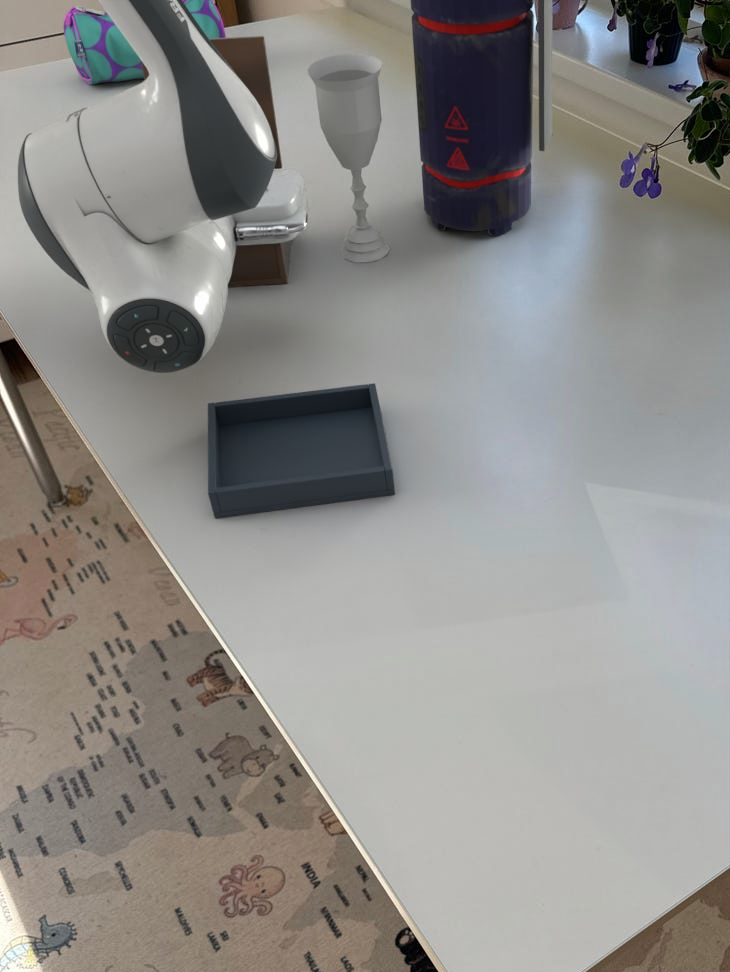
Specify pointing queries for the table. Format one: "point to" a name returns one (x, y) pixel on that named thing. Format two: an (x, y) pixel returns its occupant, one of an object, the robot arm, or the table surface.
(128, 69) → the pencil case
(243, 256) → the chest
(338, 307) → the table surface
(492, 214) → the navy canister
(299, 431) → the tray
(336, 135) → the chalice
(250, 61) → the lid
